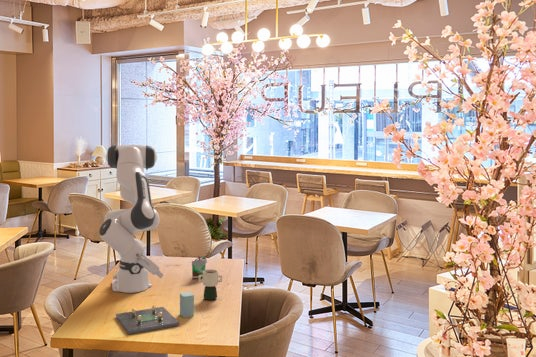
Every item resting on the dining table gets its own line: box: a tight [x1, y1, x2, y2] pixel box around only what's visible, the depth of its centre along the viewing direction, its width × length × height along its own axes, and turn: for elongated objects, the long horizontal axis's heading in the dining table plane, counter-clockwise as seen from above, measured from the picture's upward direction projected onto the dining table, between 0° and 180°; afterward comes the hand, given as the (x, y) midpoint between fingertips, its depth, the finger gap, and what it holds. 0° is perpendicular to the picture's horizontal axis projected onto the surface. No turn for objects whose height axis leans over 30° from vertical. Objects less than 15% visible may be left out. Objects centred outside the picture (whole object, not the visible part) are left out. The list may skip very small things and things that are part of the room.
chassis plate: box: [115, 305, 180, 336], centre depth 211 cm, size 20×20×4 cm
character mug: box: [198, 268, 223, 301], centre depth 241 cm, size 11×7×13 cm, turn 93°
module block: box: [179, 291, 195, 319], centre depth 220 cm, size 4×4×9 cm
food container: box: [191, 255, 208, 280], centre depth 275 cm, size 12×6×10 cm, turn 171°
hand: (158, 273), depth 212 cm, fingers open, 8 cm apart
